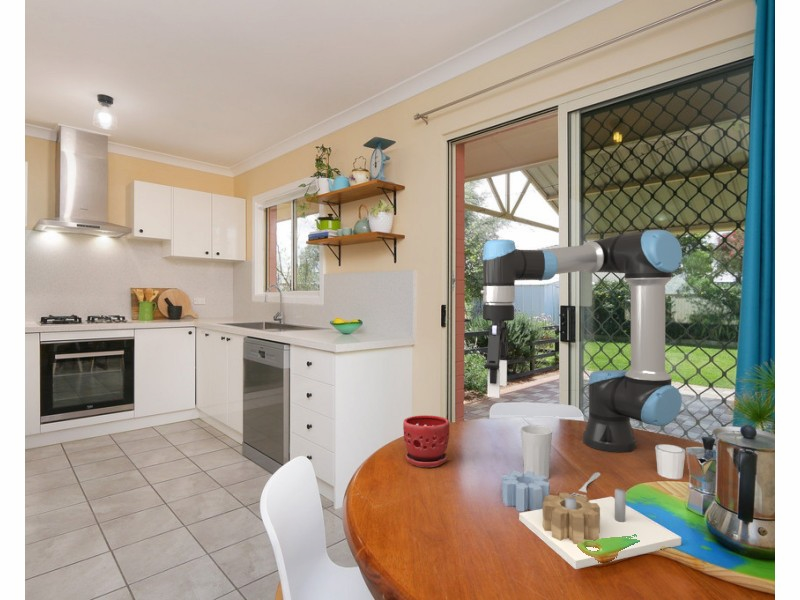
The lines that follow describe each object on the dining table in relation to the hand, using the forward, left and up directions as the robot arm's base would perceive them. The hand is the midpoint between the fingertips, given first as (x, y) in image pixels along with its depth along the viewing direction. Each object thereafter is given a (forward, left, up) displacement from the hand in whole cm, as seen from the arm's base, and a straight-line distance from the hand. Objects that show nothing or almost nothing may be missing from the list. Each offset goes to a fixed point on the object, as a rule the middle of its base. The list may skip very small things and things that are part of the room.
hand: (497, 391), depth 112 cm
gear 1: (-3, +8, -24) cm, 25 cm away
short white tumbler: (-47, +7, -24) cm, 53 cm away
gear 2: (-3, +24, -23) cm, 33 cm away
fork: (-23, +5, -25) cm, 34 cm away
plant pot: (+10, -22, -24) cm, 34 cm away
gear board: (-9, +24, -24) cm, 35 cm away
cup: (-14, -4, -24) cm, 28 cm away
